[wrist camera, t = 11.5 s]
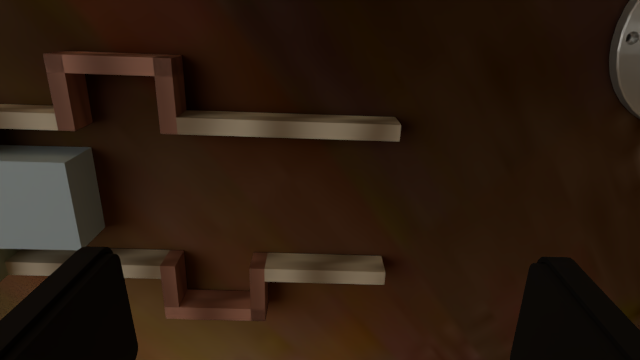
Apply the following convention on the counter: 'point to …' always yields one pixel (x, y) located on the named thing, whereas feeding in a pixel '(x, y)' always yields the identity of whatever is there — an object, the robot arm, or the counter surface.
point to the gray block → (48, 198)
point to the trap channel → (175, 119)
